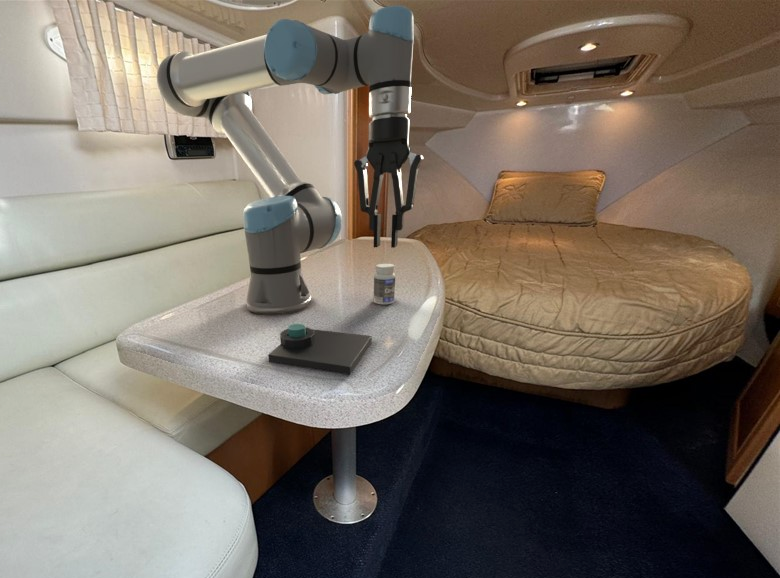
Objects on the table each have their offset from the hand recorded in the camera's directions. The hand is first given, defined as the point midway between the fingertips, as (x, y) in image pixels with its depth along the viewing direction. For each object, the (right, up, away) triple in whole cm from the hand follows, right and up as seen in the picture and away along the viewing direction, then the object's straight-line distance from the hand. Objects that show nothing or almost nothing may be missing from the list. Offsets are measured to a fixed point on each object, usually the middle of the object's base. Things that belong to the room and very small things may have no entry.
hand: (385, 246), depth 78 cm
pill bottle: (+1, -11, +6) cm, 13 cm away
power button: (-18, -20, -16) cm, 32 cm away
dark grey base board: (-14, -23, -17) cm, 32 cm away
